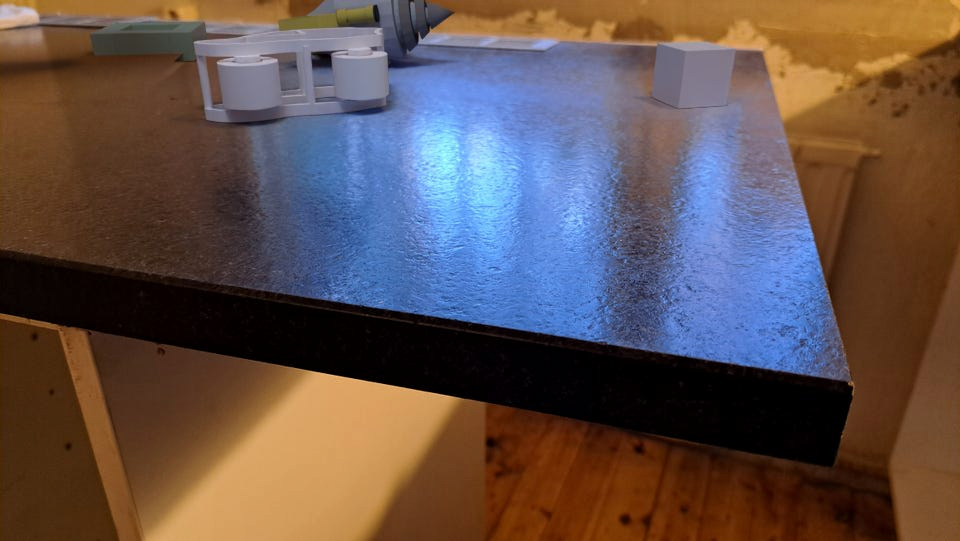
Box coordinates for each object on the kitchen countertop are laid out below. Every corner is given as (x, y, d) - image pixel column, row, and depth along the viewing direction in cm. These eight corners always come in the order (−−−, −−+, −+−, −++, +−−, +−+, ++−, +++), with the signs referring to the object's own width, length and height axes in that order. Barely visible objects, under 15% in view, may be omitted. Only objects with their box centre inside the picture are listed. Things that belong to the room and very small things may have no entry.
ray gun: (308, 10, 109) (259, -19, 90) (459, -11, 107) (443, -46, 88) (319, 84, 111) (273, 71, 92) (468, 64, 109) (454, 47, 89)
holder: (96, 63, 99) (89, 33, 97) (120, 49, 110) (115, 22, 109) (195, 61, 101) (190, 32, 99) (208, 47, 113) (204, 21, 111)
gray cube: (651, 97, 81) (657, 43, 78) (697, 94, 82) (704, 41, 80) (678, 108, 76) (685, 50, 73) (727, 105, 77) (736, 48, 75)
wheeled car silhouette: (212, 131, 66) (198, 50, 63) (199, 106, 75) (187, 34, 72) (412, 111, 74) (410, 38, 71) (380, 91, 83) (376, 25, 80)
